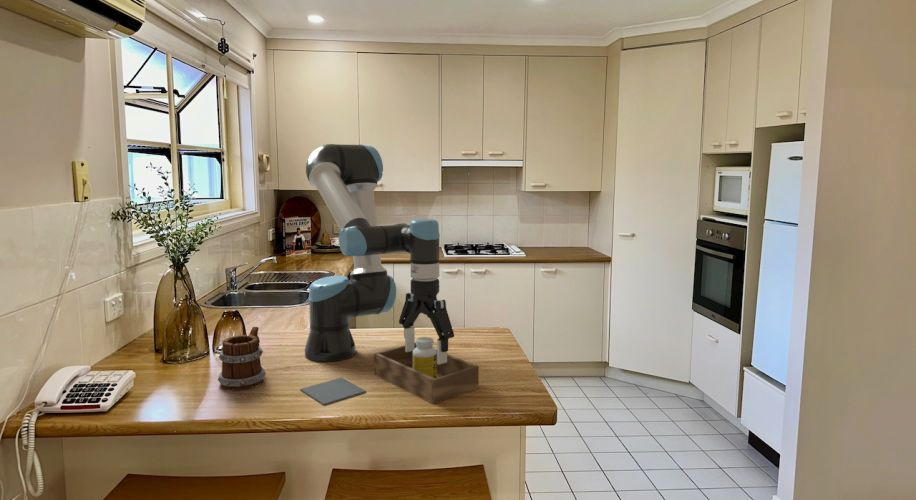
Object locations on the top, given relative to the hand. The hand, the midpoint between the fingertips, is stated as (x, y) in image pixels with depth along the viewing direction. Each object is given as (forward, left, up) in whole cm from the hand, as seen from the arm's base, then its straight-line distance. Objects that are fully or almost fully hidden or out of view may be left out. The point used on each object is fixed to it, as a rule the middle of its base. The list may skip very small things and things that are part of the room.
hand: (425, 356), depth 147 cm
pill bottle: (0, 0, -7) cm, 7 cm away
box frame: (0, 0, -7) cm, 7 cm away
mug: (-32, -36, -7) cm, 49 cm away
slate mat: (-10, -22, -7) cm, 25 cm away
